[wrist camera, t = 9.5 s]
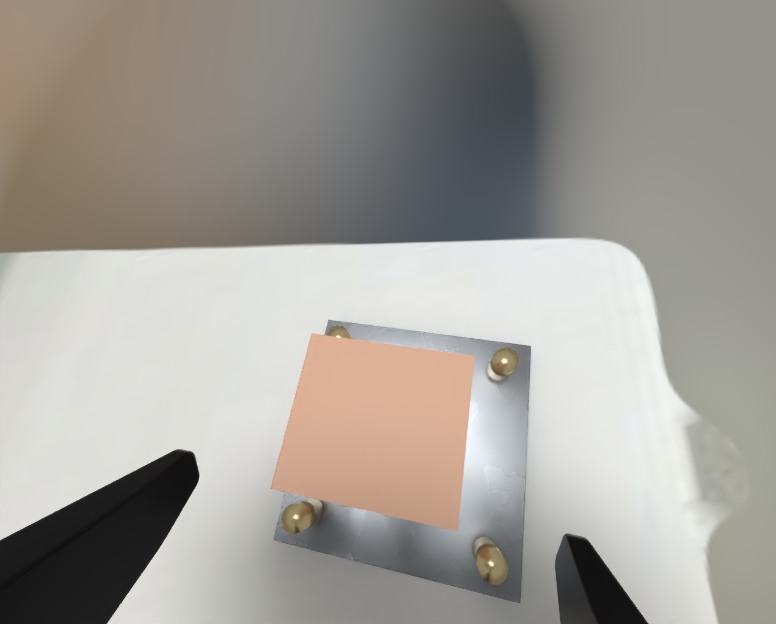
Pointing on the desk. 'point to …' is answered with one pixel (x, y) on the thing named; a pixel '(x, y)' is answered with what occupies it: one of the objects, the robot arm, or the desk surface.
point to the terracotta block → (379, 429)
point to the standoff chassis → (479, 488)
